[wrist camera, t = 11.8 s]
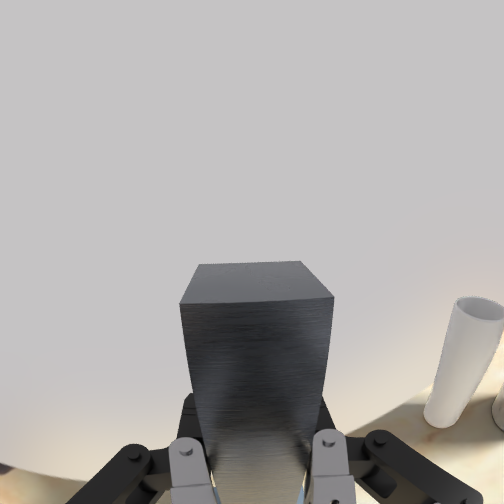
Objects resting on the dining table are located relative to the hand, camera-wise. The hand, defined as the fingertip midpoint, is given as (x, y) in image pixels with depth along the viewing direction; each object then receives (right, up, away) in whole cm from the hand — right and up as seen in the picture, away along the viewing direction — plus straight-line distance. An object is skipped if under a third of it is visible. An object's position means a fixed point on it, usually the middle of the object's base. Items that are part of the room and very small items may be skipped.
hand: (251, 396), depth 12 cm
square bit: (0, -9, -1) cm, 9 cm away
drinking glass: (+23, -13, +10) cm, 29 cm away
